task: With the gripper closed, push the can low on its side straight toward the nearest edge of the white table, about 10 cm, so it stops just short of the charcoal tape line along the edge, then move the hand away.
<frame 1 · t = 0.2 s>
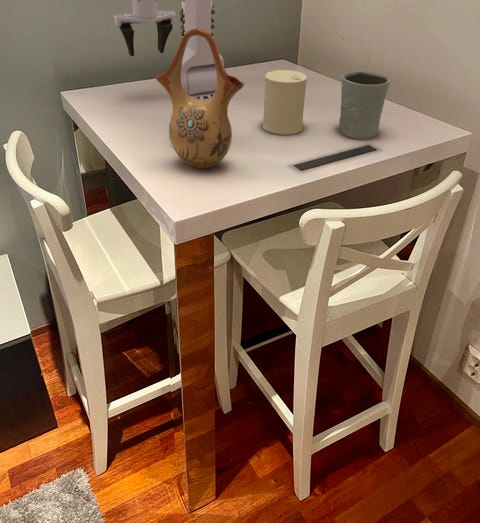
hand: (146, 53, 128), 11 cm above the table, tool pointing down, fingers open, 7 cm apart
ceramic vessel: (201, 165, 102), on the table
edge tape: (336, 157, 106), on the table
can: (282, 127, 119), on the table
embossed green cup: (357, 132, 118), on the table
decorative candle: (199, 82, 145), on the table
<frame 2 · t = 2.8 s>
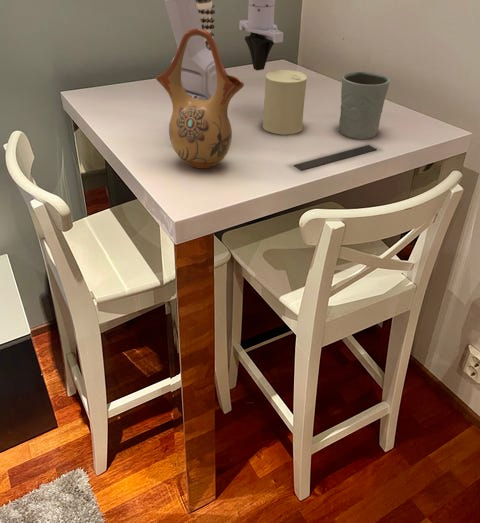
hand: (258, 69, 120), 10 cm above the table, tool pointing down, fingers closed
nothing on the table moved.
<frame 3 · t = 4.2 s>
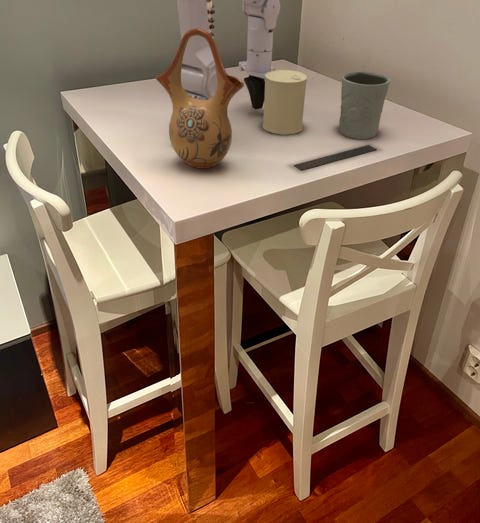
hand: (257, 108, 125), 1 cm above the table, tool pointing down, fingers closed
nothing on the table moved.
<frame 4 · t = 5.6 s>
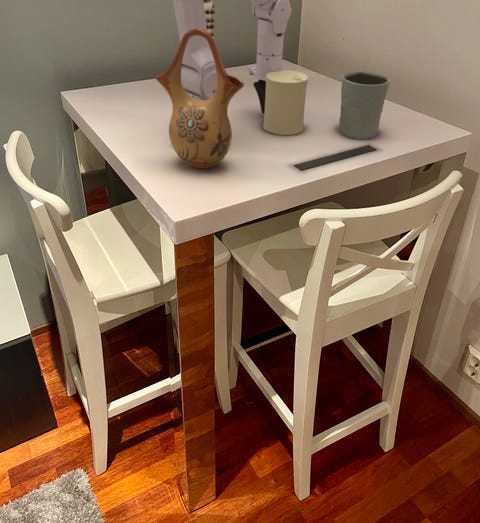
hand: (266, 113, 122), 1 cm above the table, tool pointing down, fingers closed
can: (283, 128, 119), on the table, touching gripper
everything else where it was.
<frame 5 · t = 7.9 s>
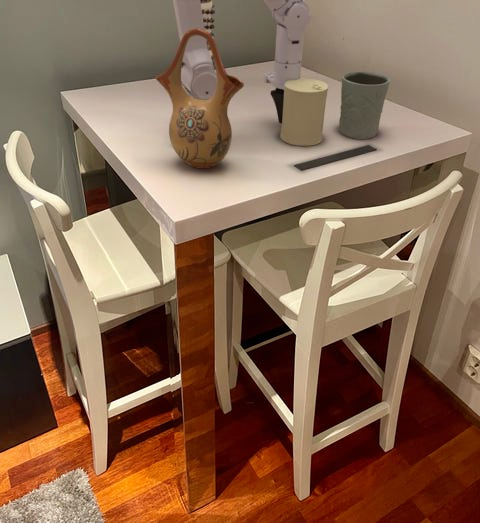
hand: (283, 122, 118), 1 cm above the table, tool pointing down, fingers closed
can: (301, 138, 114), on the table, touching gripper
everything else where it was.
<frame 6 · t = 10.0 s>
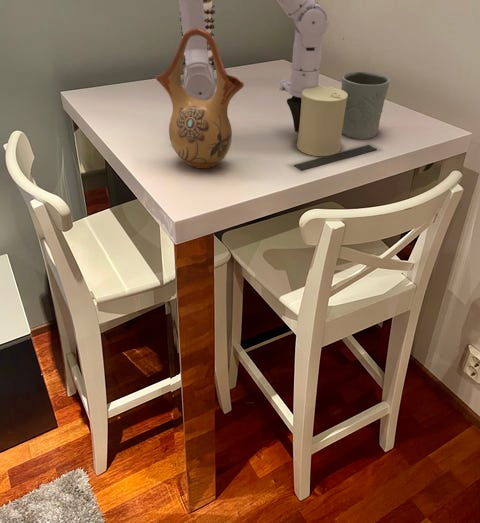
hand: (299, 131, 114), 1 cm above the table, tool pointing down, fingers closed
can: (318, 148, 110), on the table, touching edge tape, gripper
everything else where it was.
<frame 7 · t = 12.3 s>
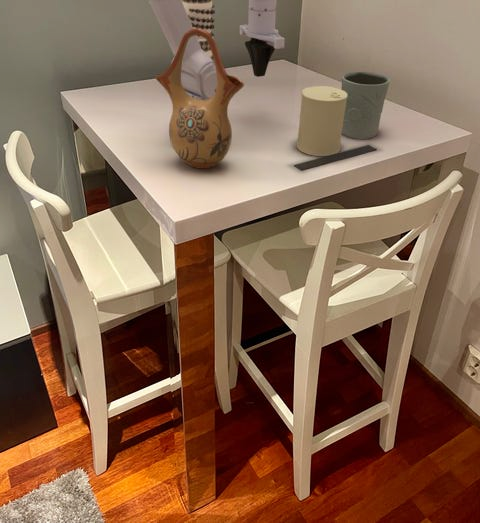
hand: (259, 75, 116), 10 cm above the table, tool pointing down, fingers closed
can: (318, 148, 110), on the table
everything else where it was.
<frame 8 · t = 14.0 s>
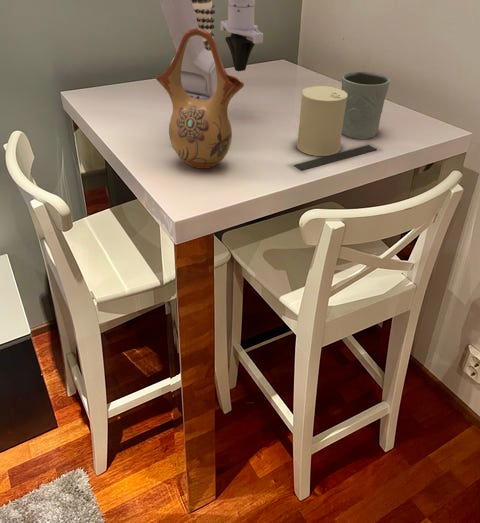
hand: (240, 70, 119), 10 cm above the table, tool pointing down, fingers closed
nothing on the table moved.
at the end: can inside the target area (2.4 cm from its centre), on the table; can moved 13.1 cm from its start; can tilted 0° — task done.
